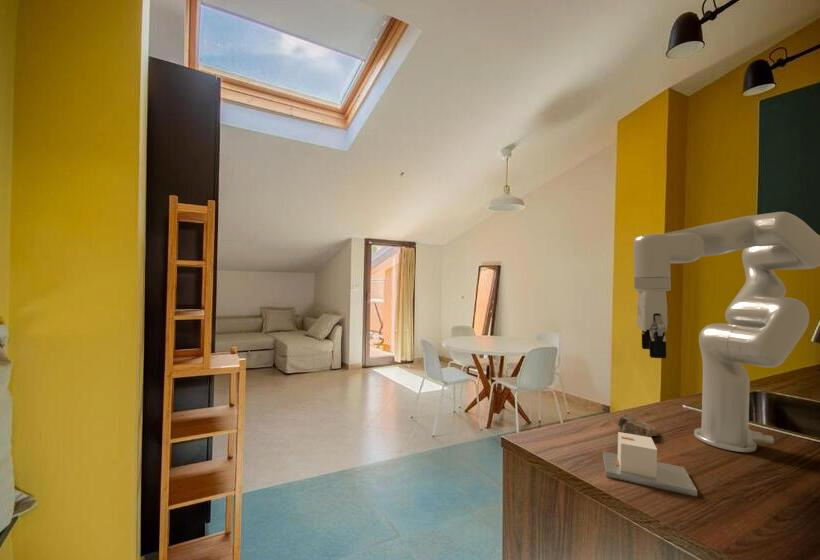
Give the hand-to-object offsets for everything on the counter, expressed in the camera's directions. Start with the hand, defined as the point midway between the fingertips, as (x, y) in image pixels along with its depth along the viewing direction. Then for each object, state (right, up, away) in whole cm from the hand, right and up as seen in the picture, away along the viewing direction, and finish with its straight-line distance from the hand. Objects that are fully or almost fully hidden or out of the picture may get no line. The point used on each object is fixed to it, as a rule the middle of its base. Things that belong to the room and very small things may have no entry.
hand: (653, 353), depth 90 cm
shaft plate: (-9, -25, -10) cm, 28 cm away
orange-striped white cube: (-10, -24, -9) cm, 27 cm away
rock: (+3, -25, +11) cm, 28 cm away
